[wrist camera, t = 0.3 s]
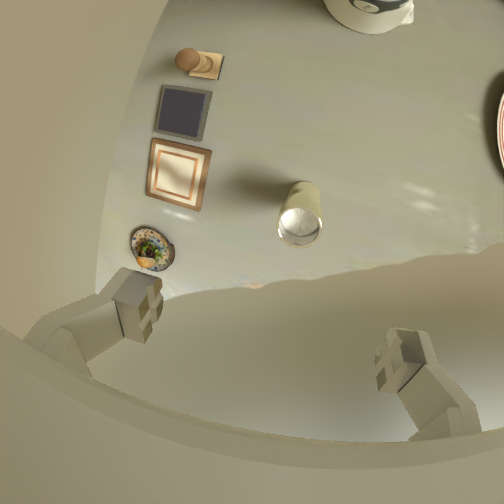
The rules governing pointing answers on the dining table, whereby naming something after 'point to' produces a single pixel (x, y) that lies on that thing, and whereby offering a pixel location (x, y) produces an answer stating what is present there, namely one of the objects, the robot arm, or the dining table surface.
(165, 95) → the ink pad
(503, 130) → the dinner plate
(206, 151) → the board
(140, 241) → the plate of salad
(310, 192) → the beer glass
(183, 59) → the stamp
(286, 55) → the dining table surface
